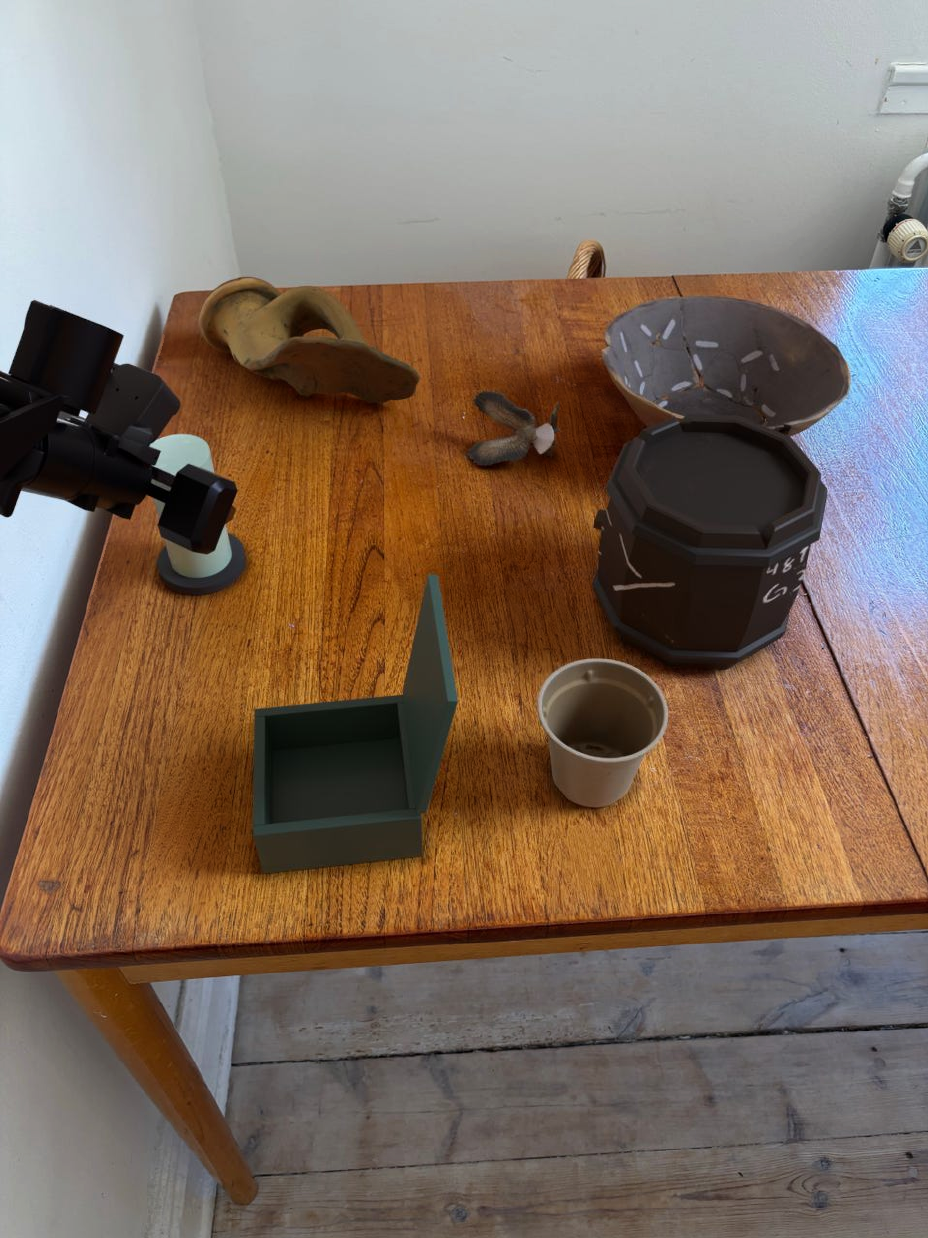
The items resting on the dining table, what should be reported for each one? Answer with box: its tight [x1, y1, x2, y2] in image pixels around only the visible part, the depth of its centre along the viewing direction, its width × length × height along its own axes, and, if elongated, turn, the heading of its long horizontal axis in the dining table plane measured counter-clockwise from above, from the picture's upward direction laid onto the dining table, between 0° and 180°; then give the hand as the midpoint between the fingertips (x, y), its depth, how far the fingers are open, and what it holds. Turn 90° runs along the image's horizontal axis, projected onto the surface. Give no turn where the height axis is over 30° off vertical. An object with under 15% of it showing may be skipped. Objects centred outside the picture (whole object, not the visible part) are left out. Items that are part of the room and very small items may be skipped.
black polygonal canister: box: [591, 414, 828, 671], centre depth 86 cm, size 18×18×16 cm
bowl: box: [601, 295, 852, 438], centre depth 106 cm, size 25×25×10 cm
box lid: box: [401, 573, 459, 815], centre depth 69 cm, size 12×11×1 cm
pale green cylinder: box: [150, 433, 232, 578], centre depth 90 cm, size 6×6×12 cm
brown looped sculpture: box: [198, 276, 421, 404], centre depth 110 cm, size 18×13×22 cm
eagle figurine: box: [467, 390, 562, 467], centre depth 105 cm, size 8×7×9 cm
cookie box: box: [252, 694, 424, 875], centre depth 75 cm, size 12×11×5 cm
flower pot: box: [536, 658, 669, 808], centre depth 76 cm, size 9×9×9 cm
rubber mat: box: [157, 532, 247, 596], centre depth 94 cm, size 8×8×1 cm
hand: (192, 495), depth 89 cm, fingers open, 9 cm apart
